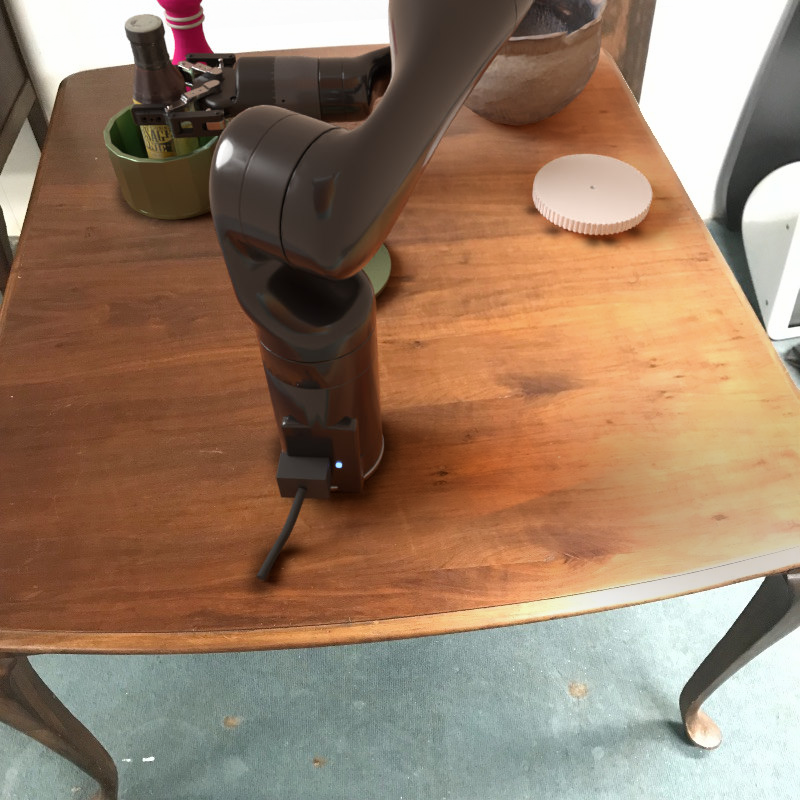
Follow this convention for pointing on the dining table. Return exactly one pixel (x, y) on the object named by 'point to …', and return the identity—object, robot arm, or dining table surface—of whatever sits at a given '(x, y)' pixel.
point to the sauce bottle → (156, 84)
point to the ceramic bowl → (542, 63)
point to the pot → (159, 172)
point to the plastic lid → (592, 194)
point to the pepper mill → (186, 28)
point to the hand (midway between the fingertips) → (140, 95)
